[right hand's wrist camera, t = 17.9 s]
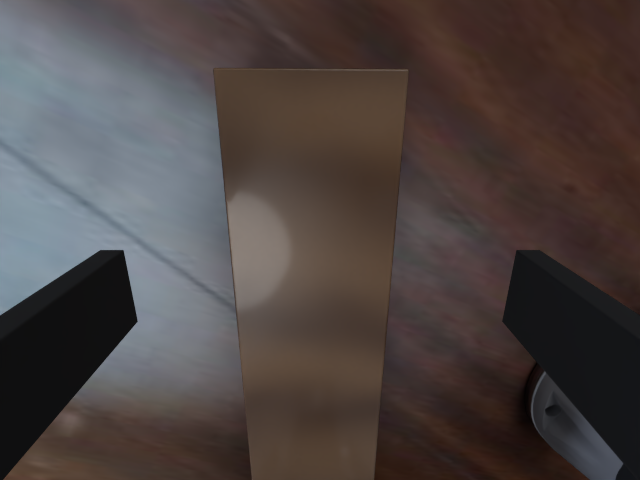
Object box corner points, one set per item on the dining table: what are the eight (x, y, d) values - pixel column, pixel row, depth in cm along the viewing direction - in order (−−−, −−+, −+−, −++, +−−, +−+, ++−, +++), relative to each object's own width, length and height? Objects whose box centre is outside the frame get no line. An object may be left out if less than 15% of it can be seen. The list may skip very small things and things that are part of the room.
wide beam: (242, 75, 24) (212, 67, 17) (381, 76, 24) (409, 68, 17) (278, 604, 47) (272, 693, 40) (349, 603, 47) (356, 691, 40)
